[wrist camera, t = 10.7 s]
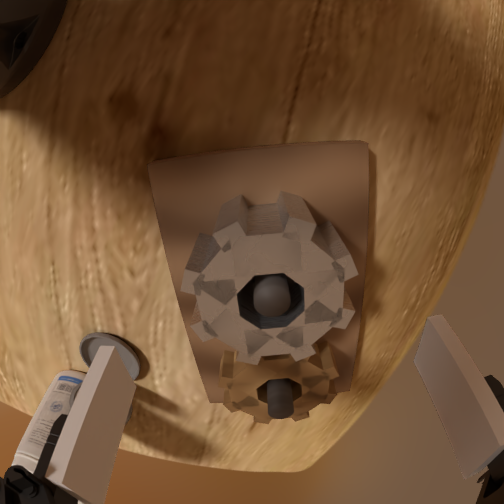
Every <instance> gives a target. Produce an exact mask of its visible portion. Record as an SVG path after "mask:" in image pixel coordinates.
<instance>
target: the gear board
mask: <svg viewBox="0 0 504 504" xmlns="http://www.w3.org/2000/svg"><path fill="white" fill-rule="evenodd" d="M147 168H148V174H149V179H150V184H151V189H152V194H153V199H154V204H155V209H156V214H157V218H158V223H159V227H160V232H161V236H162V240H163V245H164V249H165V253H166V257H167V261H168V265H169V269H170V273H171V277H172V281H173V285H174V289H175V292H176V296H177V300H178V303H179V307H180V310H181V314H182V317H183V321H184V324H185V328H186V331H187V334H188V338H189V341H190V344H191V348H192V351H193V354H194V357H195V360H196V363H197V366H198V369H199V373H200V376H201V379H202V382H203V384H204V387H205V390H206V393H207V396H208V399H209V402H210V403H223V405H224V406H225V407H226V408H227V409H228V410H230V411H231V412H235V411H239V410H241V411H243V412H246V413H248V414H250V415H253V416H254V422H259V423H266V424H269V422H270V421H271V419H284V418H292V419H293V420H294V421H298V420H302V419H305V418H308V417H309V411H310V410H311V409H313V408H314V407H316V406H317V405H319V404H320V403H325V404H330V403H331V402H332V400H333V399H334V398H335V396H336V395H337V393H339V392H345V391H350V386H351V381H352V375H353V369H354V363H355V357H356V350H357V343H358V336H359V329H360V321H361V312H362V303H363V294H364V283H365V271H366V257H367V240H368V215H369V149H368V143H367V142H364V141H327V142H307V143H291V144H278V145H266V146H256V147H246V148H237V149H229V150H220V151H213V152H206V153H199V154H192V155H185V156H179V157H173V158H167V159H161V160H156V161H153V162H151V163H149V164H147ZM280 191H285V192H288V193H291V194H295V195H298V196H301V197H302V198H303V200H304V202H305V204H306V206H307V207H308V209H309V211H310V213H311V215H312V217H313V219H314V221H315V222H316V224H317V226H318V225H320V224H322V223H324V222H327V221H330V223H331V224H332V226H333V227H334V229H335V230H336V232H337V233H338V235H339V237H340V238H341V240H342V241H343V243H344V244H345V246H346V248H347V249H348V251H349V253H350V254H351V257H352V259H353V262H354V264H355V267H356V269H357V272H358V274H359V275H357V276H354V277H352V278H350V279H348V280H346V281H344V287H345V289H346V291H347V293H348V296H349V298H350V300H351V302H352V304H353V307H354V309H355V313H354V315H353V317H352V318H351V320H350V322H349V324H348V325H347V327H346V329H341V328H336V327H332V328H331V329H330V330H329V331H327V332H326V333H325V334H324V335H323V336H322V337H320V338H319V339H318V340H317V341H316V342H314V346H315V350H316V354H314V355H311V356H309V357H306V358H304V359H301V360H299V361H295V360H294V358H293V357H292V355H291V354H281V355H269V356H261V358H260V360H259V363H258V365H254V364H249V363H244V362H240V361H236V351H237V350H236V349H234V348H232V347H231V346H229V345H227V344H225V343H224V342H222V341H220V340H219V339H217V338H213V339H210V340H207V341H205V342H203V341H202V340H201V339H200V338H199V337H198V335H197V334H196V333H195V332H194V331H193V329H192V328H191V327H190V324H191V320H192V316H193V313H194V309H195V305H196V301H197V299H196V295H193V294H190V293H186V292H182V291H180V290H181V285H182V280H183V275H184V271H185V267H186V265H187V263H188V260H189V258H190V255H191V253H192V250H193V248H194V245H195V243H196V240H197V238H198V236H199V233H203V234H207V235H211V236H213V235H212V234H213V231H214V228H215V225H216V222H217V218H218V215H219V212H220V209H221V206H222V204H224V203H226V202H227V201H229V200H231V199H233V198H235V197H237V196H239V195H241V194H242V196H243V198H244V199H245V201H246V203H247V205H248V206H249V205H259V204H269V203H277V200H278V197H279V194H280ZM286 276H287V275H286V274H284V273H276V274H265V275H254V276H253V277H252V278H251V279H253V280H254V307H255V309H256V310H257V312H258V313H260V314H261V315H263V316H267V317H276V316H280V315H282V314H283V313H285V312H286V311H287V310H288V309H289V307H290V303H291V299H290V293H289V288H288V282H287V277H286Z"/></svg>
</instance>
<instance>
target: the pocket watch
mask: <svg viewBox="0 0 504 504" xmlns="http://www.w3.org/2000/svg"><path fill="white" fill-rule="evenodd" d="M100 346H115V347H116V349H117V351H118V353H119V355H120V357H121V359H122V361H123V363H124V365H125V367H126V369H127V370H128V372H129V374H130V376H131V378H132V380H135V379H136V378H137V376H138V375H139V371H140V361H139V359H138V357H137V355H136V354H135V352H134V351H133V350H132V349H131V348H130V347H129V346H128V345H127V344H126V343H125V342H123V341H122V340H120V339H118V338H116V337H114V336H111V335H109V334H105V333H92V334H88V335H87V336H86V337H84V338H83V340H82V341H81V343H80V354H81V356H82V359H83V361H84V362H85V363H86V365H87V366H88V367H89V368H90V366H91V364H92V362H93V359H94V357H95V355H96V353H97V351H98V349H99V347H100ZM82 383H83V381H82V382H81V383H79V384H78V385H77V386H76V387H75V388H74V389H73V390H72V393H71V395H70V400H69V404H70V409H71V408H72V405H73V403H74V401H75V398H76V396H77V394H78V392H79V389H80V387H81V385H82ZM131 414H132V403H131V406H130V409H129V413H128V416H127V419H126V423H127V422H128V421H129V419H130V417H131ZM126 423H125V425H126Z"/></svg>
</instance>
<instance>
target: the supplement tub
mask: <svg viewBox="0 0 504 504" xmlns="http://www.w3.org/2000/svg"><path fill="white" fill-rule="evenodd" d="M85 376H86V374H85V373H82V372H79V371H74V370H65V371H61V372H59V373H58V374H57V375H56V376H55V378H54V379H53V381H52V383H51V384H50V386H49V388H48V390H47V391H46V393H45V395H44V397H43V399H42V401H41V402H40V404H39V406H38V408H37V410H36V412H35V414H34V416H33V418H32V420H31V422H30V424H29V426H28V428H27V430H26V432H25V434H24V436H23V438H22V440H21V442H20V444H19V446H18V449H17V451H16V454H15V458H14V461H13V463H12V466H13V465H21V466H23V467H24V468H26V469H27V470H28V471H29V472H31V473H32V474H33V473H34V471H35V469H36V466H37V463H38V460H39V458H40V455H41V453H42V450H43V448H44V445H45V443H46V440H47V438H48V435H50V430H51V428H52V426H53V423H54V422H55V421H56V420H57V418H58V417H59V416H60V415H61V414H66V415H69V412H70V410H71V409H70V404H69V400H70V395H71V393H72V390H73V389H74V388H75V387H76V386H77V385H78V384H79V383H81V382H82V381H84V378H85ZM78 504H83V503H82V502H80V501H79V500H78Z"/></svg>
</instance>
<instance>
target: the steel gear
mask: <svg viewBox="0 0 504 504" xmlns="http://www.w3.org/2000/svg"><path fill="white" fill-rule="evenodd" d="M212 235H213V236H211V235H207V234H203V233H199V236H198V238H197V240H196V243H195V245H194V248H193V250H192V253H191V255H190V258H189V260H188V263H187V265H186V267H185V271H184V275H183V280H182V285H181V290H180V291H182V292H186V293H190V294H193V295H196V299H197V301H196V305H195V309H194V313H193V316H192V320H191V324H190V327H191V328H192V329H193V331H194V332H195V333H196V334H197V335H198V337H199V338H200V339H201V340H202V341H203V342H205V341H207V340H210V339H213V338H217V339H219V340H220V341H222V342H224V343H225V344H227V345H229V346H231V347H232V348H234V349H236V350H237V351H236V361H240V362H244V363H249V364H254V365H258V363H259V360H260V358H261V356H269V355H281V354H291V355H292V357H293V358H294V360H295V361H299V360H301V359H304V358H306V357H309V356H311V355H314V354H316V350H315V346H314V342H316V341H317V340H318V339H319V338H320V337H322V336H323V335H324V334H325V333H326V332H327V331H329V330H330V329H331V328H332V327H336V328H341V329H346V327H347V325H348V324H349V322H350V320H351V318H352V317H353V315H354V313H355V309H354V307H353V304H352V302H351V300H350V298H349V296H348V293H347V291H346V289H345V287H344V281H346V280H348V279H350V278H352V277H354V276H357V275H359V274H358V272H357V269H356V267H355V264H354V262H353V259H352V257H351V254H350V253H349V251H348V249H347V248H346V246H345V244H344V243H343V241H342V240H341V238H340V237H339V235H338V233H337V232H336V230H335V229H334V227H333V226H332V224H331V223H330V221H327V222H324V223H322V224H320V225H318V226H317V224H316V222H315V221H314V219H313V217H312V215H311V213H310V211H309V209H308V207H307V206H306V204H305V202H304V200H303V198H302V197H301V196H298V195H295V194H291V193H288V192H285V191H280V194H279V197H278V200H277V203H269V204H259V205H249V206H248V205H247V203H246V201H245V199H244V198H243V196H242V194H241V195H239V196H237V197H235V198H233V199H231V200H229V201H227V202H226V203H224V204H222V206H221V209H220V212H219V215H218V218H217V222H216V225H215V228H214V231H213V234H212ZM276 273H284V274H286V275H287V276H286V277H287V282H288V288H289V293H290V299H291V303H290V307H289V309H288V310H287V311H286V312H285V313H283V314H282V315H280V316H276V317H267V316H263V315H261V314H260V313H258V312H257V310H256V309H255V307H254V280H253V279H251V278H252V277H253V276H254V275H265V274H276Z"/></svg>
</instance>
